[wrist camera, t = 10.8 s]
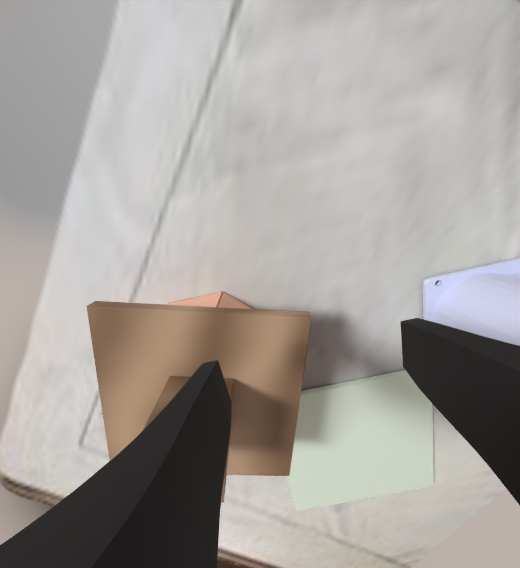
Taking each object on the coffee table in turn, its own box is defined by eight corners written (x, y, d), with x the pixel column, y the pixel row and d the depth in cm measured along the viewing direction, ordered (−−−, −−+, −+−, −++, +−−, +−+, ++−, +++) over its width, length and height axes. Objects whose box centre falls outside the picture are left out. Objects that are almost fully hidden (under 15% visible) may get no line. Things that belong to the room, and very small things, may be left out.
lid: (308, 311, 15) (336, 362, 10) (287, 465, 19) (300, 557, 14) (95, 301, 15) (12, 349, 10) (117, 461, 18) (66, 557, 13)
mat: (428, 365, 22) (432, 368, 22) (430, 480, 26) (433, 485, 26) (266, 397, 23) (266, 402, 22) (294, 505, 27) (295, 511, 27)
